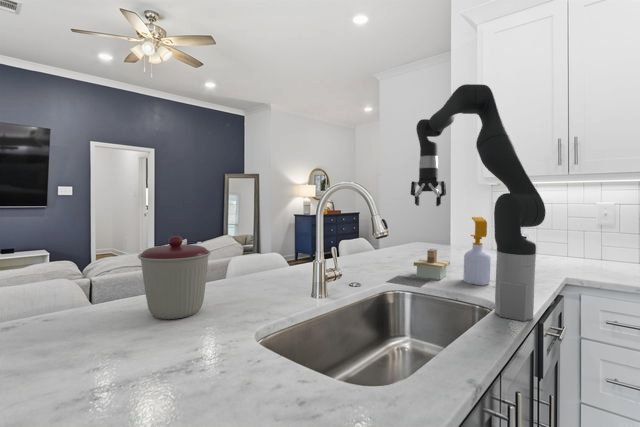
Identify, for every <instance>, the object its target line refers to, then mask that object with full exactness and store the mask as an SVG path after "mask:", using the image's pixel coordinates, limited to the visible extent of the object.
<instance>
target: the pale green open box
mask: <svg viewBox="0 0 640 427" xmlns="http://www.w3.org/2000/svg"><path fill="white" fill-rule="evenodd" d="M445 277H447V267H445V268H443V269H437V268H429V267H420V266H416V278H420V279H427V280H434V281H442V280H443V279H444V278H445Z"/></svg>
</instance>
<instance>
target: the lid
mask: <svg viewBox="0 0 640 427" xmlns="http://www.w3.org/2000/svg"><path fill="white" fill-rule="evenodd" d="M426 251H427V253H426V257H427V258H421V259H418V260H416V261H414V262H413V267H417V266H420V267H429V268H437V269H443V268H445V267H446V268H447V267H448V266H450V264H451V262H450V261H448V260H440V259H439V260H438V259H437V256H438V255H437V254H438V249H433V248H430V249H428V250H426Z"/></svg>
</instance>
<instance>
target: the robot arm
mask: <svg viewBox="0 0 640 427" xmlns="http://www.w3.org/2000/svg"><path fill="white" fill-rule="evenodd" d="M459 114H462V115H468V114H469V115H473V114H474V115H478V117H479V119H480V121H481V128H480V130H479V133H478V135H477V139H476V142H475V143H476V147H475V148H476V149H477V152H478V156H479V158H480V161H481V162H482V165H483V166H484V167H485V168H486V169H487V170H488V172H490V173H491V174H492V175H493V176H494V177H496V178H497V179H498V180H499V181H500V182H502V184H503V185H505V187H506V189H507V190H508V192H506V193H502V194H501V195H499V196H498V197H497V198H496V201H495V204H494V209H493V219H494V221H493V222H494V226H493V227H494V228H493V229H494V240H495V241H494V242H495V244H496V262H495V263H496V264H495V265H496V266H495V286H494V287H495V289H494V291H495V293H494V313H495V314H497V315H498V318H499V317H500V318H505V319H510V320H516V321H521V322H526V321H530V320H532V319H533V318H534V308H535V307H534V306H535V305H534V304H535V286H536V284H535V280H536V260H537V258H536V256H537V244H536V243H535V242H533V241H532V240H529V239H526V238H525V237H524V236H523V235H522V230H521V229H522V228H533V227H538V226H539V225H541V224H542V223H543V222H544V221H545V218H546V206H545V202H544V200H543V199H542V197H541V194H540V193H539V191H538V189H537V188H536V187H535V185H534V184H533V182H532V180H531V178H530V177H529V175H528V174H527V172H526V170H525V168H524V166H523V164H522V162H521V160H520V158H519V156H518V154H517V151H516V149H515V146H514V144H513V142H512V140H511V137H510V135H509V134H508V131H507V130H506V127H505V125H504V123H503V120H502V118H501V115H500V113H499V109H498V105H497V102H496V100H495V95H494V93H493V91H492V89H491V88H490V86H488V85H487V84H473V83H471V84H470V83H469V84H468V83H465V84H462V85H460V86H458V87H457V88H456V89H455V90H454V91H453V93H452V94H451V95H450V97H449V98H448V99H447V101H446V102H445V104H444V105H443V106H442V107H441V108H440V109H438V111H436V112H435V113H433V115H431V116H430V118H429V119H428V118H427V119H423V118H422V119H420V120H419V121H418V122H417V124H416V135H417V138H418V141H419V147H420V150H419V151H420V153H419V156H420V157H419V161H418V162H419V168H418V175H419V176H418V181H414V180H413V181H411V185H410V195H411V196H413V197H414V205H415V206H416V207H417V206H420V196H421V195H422V193H423V192H433V193H434V194H435V196H436V200H435V204H436V207H440V205H441V204H442V197H443V196H446V195H447V188H446V187H447V186H446V185H447V184H446V181H445V180H440V181H439V179H438V178H439V158H438V157H439V156H438V155H439V154H438V153H439V151H438V149H439V148H438V146H439V145H438V143H436V142H434V141H431V140H429V137H430V138H437V137H439V136H441V135H442V134H443V132H444V130H445V129H446V128H448V127H449V126H450V125H452V124H453V123H454V121H455V119H456V115H459ZM418 186H419V188H418V189H417V191H416V188H417V187H418ZM438 186H440V187H441V189H440V190H441V192H440V191H439V189H438V188H437V187H438Z"/></svg>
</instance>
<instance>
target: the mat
mask: <svg viewBox="0 0 640 427" xmlns="http://www.w3.org/2000/svg"><path fill="white" fill-rule="evenodd" d="M430 281H431V279H426V278H419V277H411V276H405V275H396V276H394V277H392V278H390V279H389V280H387V281H385V282H386V283H387V284H388V283H389V284H396V285H401V286H408V287H415V288H422V287H424V286H425V285H426V284H427V283H429V282H430Z"/></svg>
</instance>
